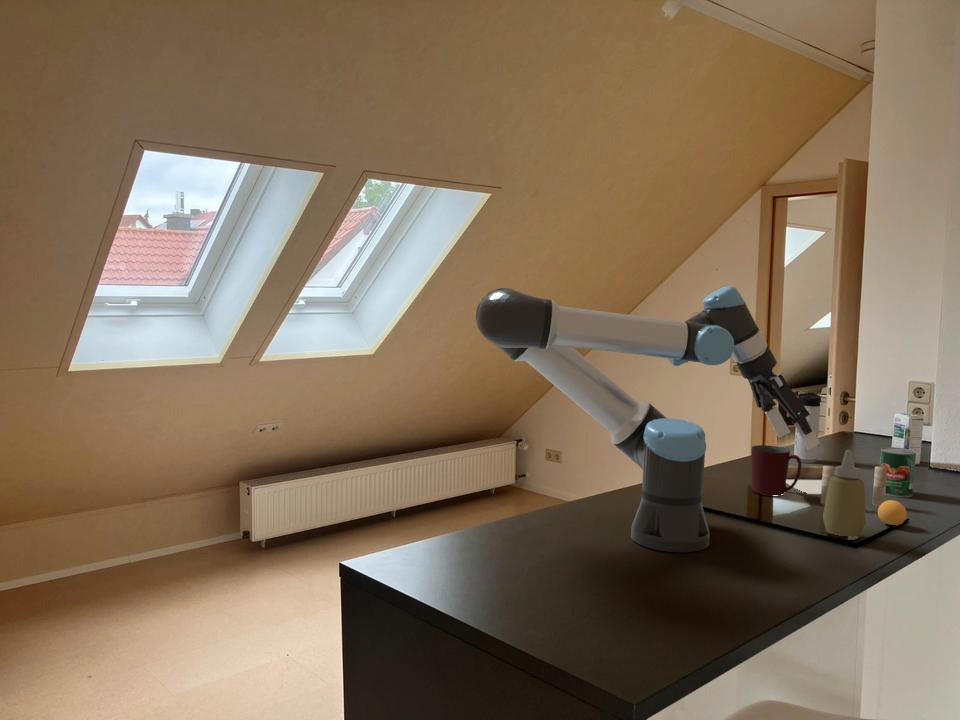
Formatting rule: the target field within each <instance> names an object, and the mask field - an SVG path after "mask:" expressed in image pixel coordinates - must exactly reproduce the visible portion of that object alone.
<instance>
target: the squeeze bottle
mask: <svg viewBox="0 0 960 720" xmlns="http://www.w3.org/2000/svg"><path fill="white" fill-rule="evenodd" d="M854 461H855V460H854V455H853V450H851V449H846V450H845V452H844V455H843V457H842V462H841V464H840V465H837V466H834V467H835V476H833V477H831V478H830V480H829V485H828V491H827V496H826V502H825V506H824V509H823V513H822V519H823V524H824V527H825V531H826V533H827V532H828V533H831V534H834V535H839V536H852V537H854V536H859V535H860V536H861V535H862V532H863V530H864V527H865V526H866V494H865V492H866V491H865V481H864V480H863V479H861V478H860V477H861V469H860V468H858V467H855V462H854Z"/></svg>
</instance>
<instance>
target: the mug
mask: <svg viewBox="0 0 960 720" xmlns="http://www.w3.org/2000/svg"><path fill="white" fill-rule="evenodd" d="M791 459H793V460H794V459H796V460H797V461H796V462H797V466H798V471H797V475H796V478H795V479H793V480H794V482H793V483H792V485H791V486H790V485H789V486H788V487H787V485H786V484H787V483H786V480H787V479H788V478H787V471H788V466H789V465H790V464H789V462H790V460H791ZM750 460H751V461H750V463H751V464H750V465H751V491H752V492H753V491H754V492H756V493H760V494H766V495H781V494H784V495H785V493H787V492H789V491H791V490H792V489H794V486H795V484H796V483H797V481H798V480H800V479H799V476H800V472H801V466H802V462H801V459H800V458H799V457H798V456H797V455H794V454H791V450H790V449H788V448H786V447H782V446H776V445H763V444H761V445H759V444H758V445H753V446H751V459H750ZM754 492H753V493H754ZM756 493H755V494H756Z"/></svg>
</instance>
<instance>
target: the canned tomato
mask: <svg viewBox="0 0 960 720" xmlns="http://www.w3.org/2000/svg"><path fill="white" fill-rule="evenodd" d="M915 460H916V451H913V450H910V449H904V448H896V447H892V446H888V447H886V446H885V447H881V448H880V458H879V467H885V468H887V477H886V490H885V496H886V497H887V496H889V497H895V498H912V497H914V495H913V492H914V483H915V482H914V481H915V471H916V468H915V467H916V464H915Z"/></svg>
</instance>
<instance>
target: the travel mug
mask: <svg viewBox="0 0 960 720" xmlns="http://www.w3.org/2000/svg"><path fill="white" fill-rule="evenodd" d="M797 398H798V399H799V400H800V402H801V403H802V404H803V406H804V407H805V408H806V410H807V411H808V412H809V414H810V415H809V416H807V417H806V418H807V419H808V421H809V423H810V425H811V427H812V429H813V431H814V432H815V434H816V436H817V438H818V439H819V434H820V433H819V431H820V418H821V417H820V414H821V398H822V397H821V395H820V394H816V393H815V392H807V393H799V394H798V395H797ZM798 414H800V413H798ZM794 434H795V435H794V446H793V447H794V448H793V455H797V456H798V457H799V458H800V459H801V463H802V464H814V463H816V462H817V459H818V446H819V444H818V445H816V446H815V447H813V448H811V449H810V450H808V449H807V448H806V446H805V444H804V442H803V440H802V438H801V437H800V435H799V433H798V431H797V429H796V428H795V433H794ZM793 460H794V461H795V462H798V461H797V460H796V459H793Z"/></svg>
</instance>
